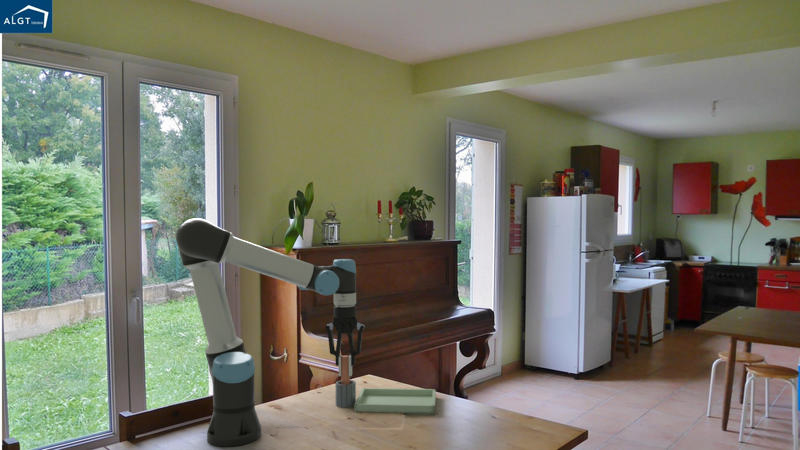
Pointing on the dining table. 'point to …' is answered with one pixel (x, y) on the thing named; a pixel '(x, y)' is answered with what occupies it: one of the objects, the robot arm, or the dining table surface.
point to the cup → (345, 394)
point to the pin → (345, 370)
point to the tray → (396, 401)
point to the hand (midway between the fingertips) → (345, 375)
